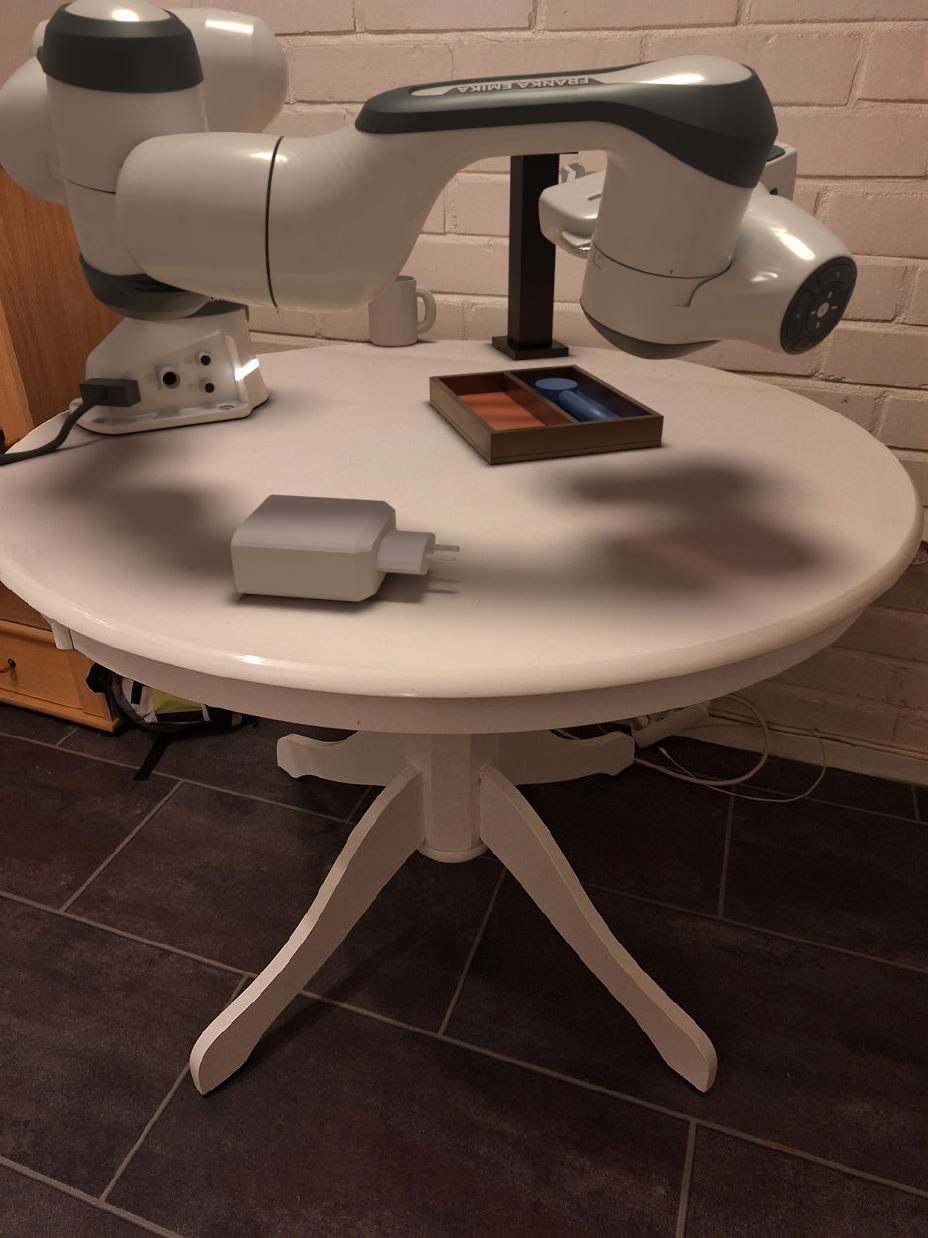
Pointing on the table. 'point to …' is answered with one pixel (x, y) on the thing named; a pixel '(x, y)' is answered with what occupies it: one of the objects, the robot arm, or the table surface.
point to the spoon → (569, 399)
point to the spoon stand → (530, 262)
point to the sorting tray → (540, 415)
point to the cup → (400, 313)
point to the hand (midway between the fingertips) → (616, 157)
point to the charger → (326, 548)
